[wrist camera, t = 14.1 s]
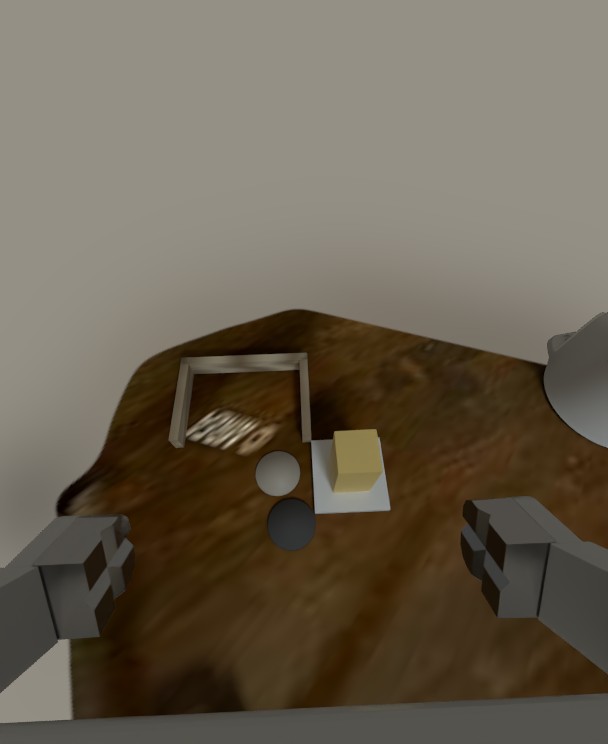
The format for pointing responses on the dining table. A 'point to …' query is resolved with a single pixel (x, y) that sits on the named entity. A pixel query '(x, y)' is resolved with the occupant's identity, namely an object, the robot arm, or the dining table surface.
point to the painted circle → (277, 473)
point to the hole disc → (291, 524)
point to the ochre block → (355, 460)
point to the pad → (345, 500)
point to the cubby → (227, 366)
